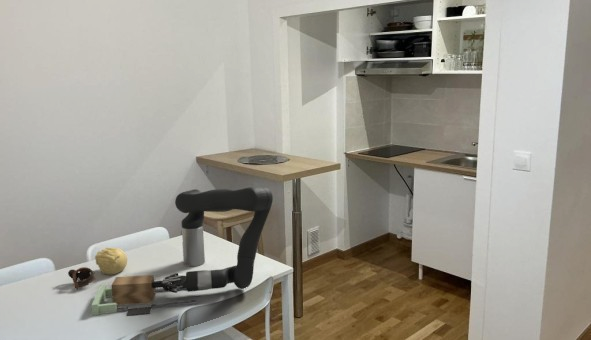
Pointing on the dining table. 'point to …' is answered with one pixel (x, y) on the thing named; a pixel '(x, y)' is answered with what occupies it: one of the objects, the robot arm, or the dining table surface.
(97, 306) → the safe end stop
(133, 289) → the walnut block
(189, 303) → the lane rails
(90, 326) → the dining table surface
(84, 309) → the dining table surface
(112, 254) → the sculpture
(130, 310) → the mats
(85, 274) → the pottery mug
